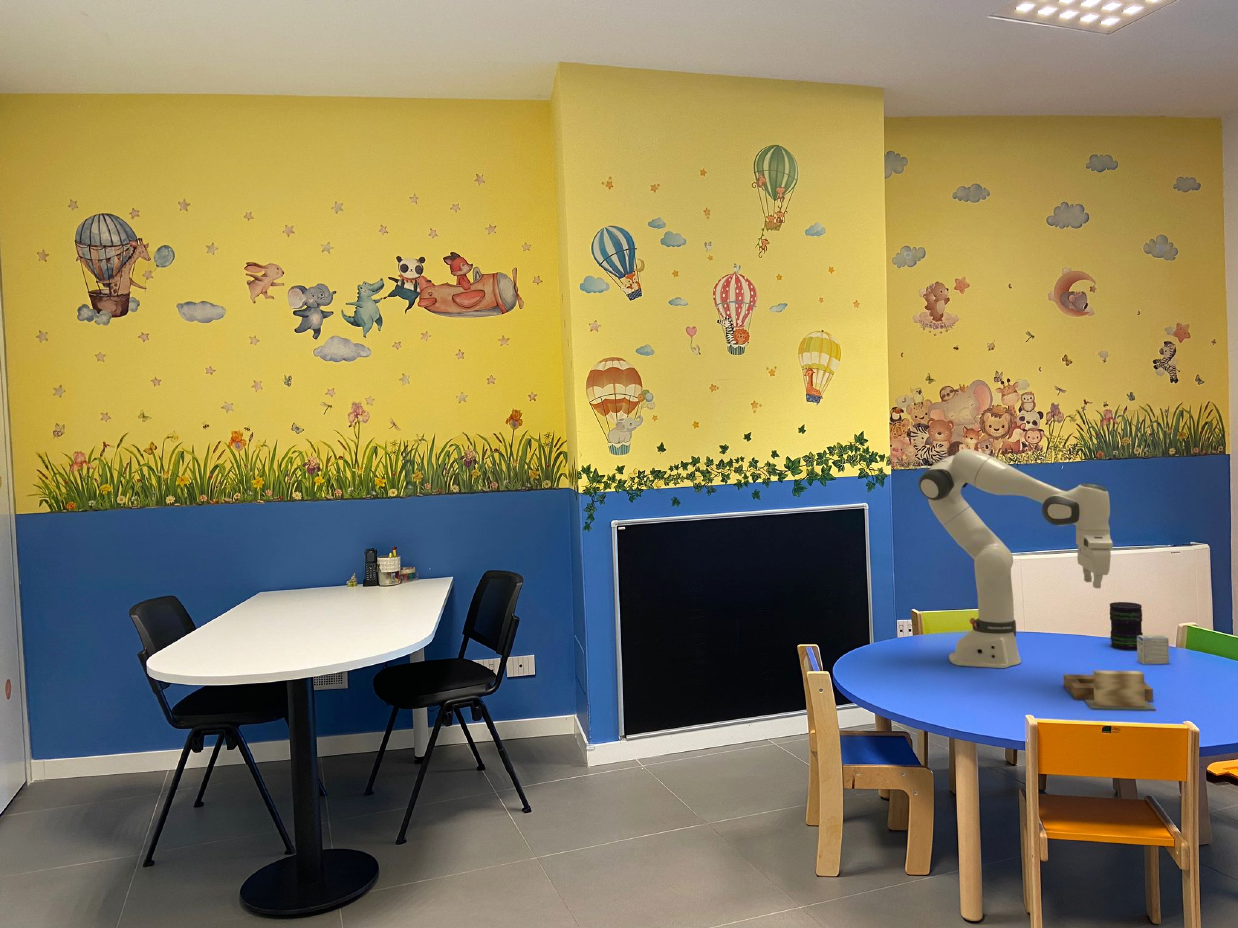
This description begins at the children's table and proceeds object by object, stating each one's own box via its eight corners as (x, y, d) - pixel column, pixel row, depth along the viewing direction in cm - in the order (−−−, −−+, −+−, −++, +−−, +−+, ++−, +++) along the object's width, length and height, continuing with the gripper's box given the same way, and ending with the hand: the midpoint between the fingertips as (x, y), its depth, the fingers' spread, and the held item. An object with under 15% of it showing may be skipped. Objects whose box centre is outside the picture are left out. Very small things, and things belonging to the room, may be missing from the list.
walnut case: (1075, 699, 254) (1075, 687, 254) (1063, 685, 268) (1063, 674, 268) (1153, 701, 249) (1152, 688, 249) (1137, 686, 263) (1136, 675, 263)
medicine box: (1162, 660, 289) (1161, 634, 288) (1169, 664, 284) (1168, 637, 284) (1137, 661, 289) (1136, 635, 289) (1143, 664, 285) (1143, 638, 285)
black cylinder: (1150, 649, 303) (1149, 606, 302) (1124, 652, 301) (1123, 608, 300) (1129, 642, 312) (1127, 601, 312) (1104, 645, 311) (1102, 603, 310)
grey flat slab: (1091, 709, 245) (1091, 707, 245) (1084, 701, 252) (1084, 699, 252) (1155, 710, 241) (1155, 708, 241) (1147, 702, 248) (1147, 700, 248)
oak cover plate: (1097, 705, 247) (1096, 673, 247) (1094, 701, 250) (1093, 670, 249) (1145, 706, 244) (1144, 674, 244) (1141, 702, 247) (1140, 671, 247)
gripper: (1072, 533, 273) (1071, 578, 274) (1090, 543, 253) (1090, 591, 254) (1094, 534, 272) (1094, 578, 272) (1114, 543, 252) (1114, 591, 253)
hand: (1092, 584), depth 263 cm, fingers open, 8 cm apart
